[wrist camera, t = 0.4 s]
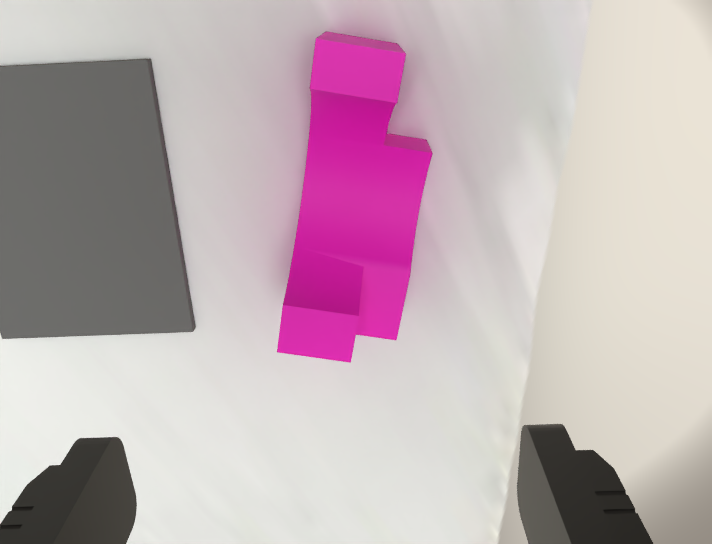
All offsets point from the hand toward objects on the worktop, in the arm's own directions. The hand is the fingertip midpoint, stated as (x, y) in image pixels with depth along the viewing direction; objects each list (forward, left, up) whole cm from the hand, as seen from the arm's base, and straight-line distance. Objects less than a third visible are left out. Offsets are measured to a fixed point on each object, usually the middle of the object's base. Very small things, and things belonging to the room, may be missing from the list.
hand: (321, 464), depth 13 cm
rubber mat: (+2, -16, -25) cm, 29 cm away
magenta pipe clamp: (+1, +1, -25) cm, 25 cm away
